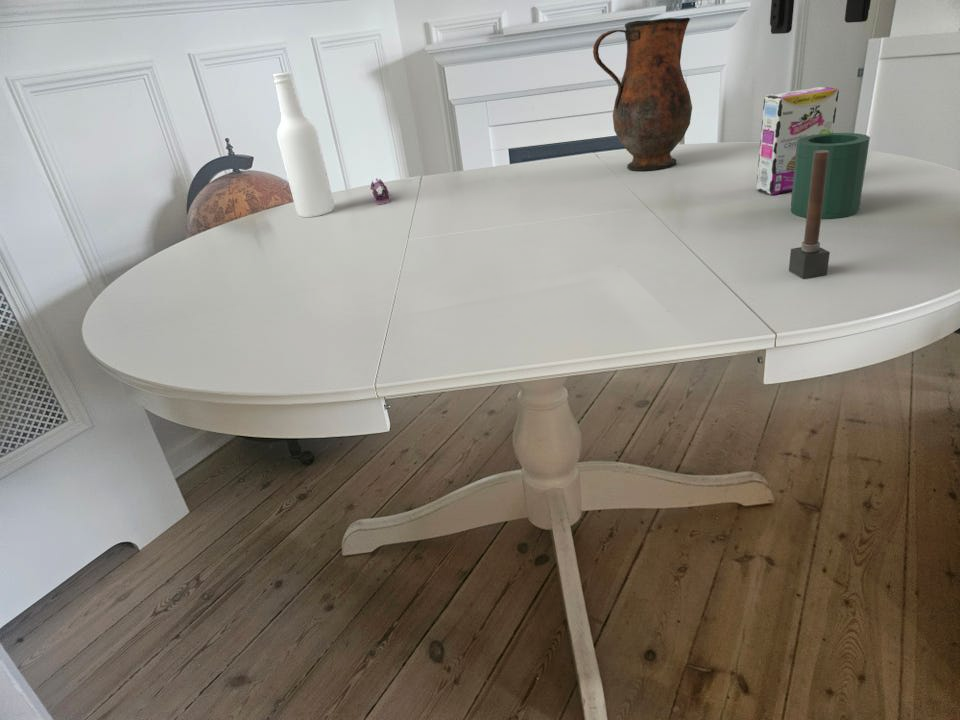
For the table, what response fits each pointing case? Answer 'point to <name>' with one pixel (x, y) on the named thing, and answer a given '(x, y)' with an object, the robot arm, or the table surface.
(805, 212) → the cup
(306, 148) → the alcohol
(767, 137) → the candy bar box
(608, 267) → the table surface
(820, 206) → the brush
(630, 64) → the pitcher
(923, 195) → the table surface
